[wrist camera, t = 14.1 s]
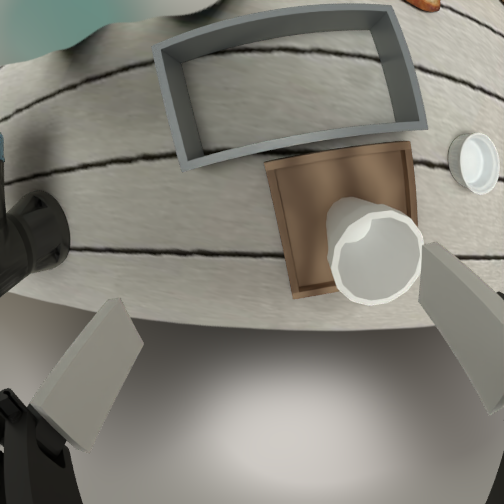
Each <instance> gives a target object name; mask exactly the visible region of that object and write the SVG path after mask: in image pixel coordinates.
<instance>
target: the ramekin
mask: <svg viewBox="0 0 504 504" xmlns="http://www.w3.org/2000/svg"><path fill="white" fill-rule="evenodd" d="M448 163H449V168H450V171H451V174H452V176H453V177H454V179H455V180H456V181H457V182H458V183H459V184H461V185H462V186H464V187H466V188H468V189H469V190H470V191H472V192H473V193H475V194H478V195H484V194H487V193H488V192H490V191H491V190H492V189H493V188H494V186H495V184H496V182H497V180H498V177H499V171H500V161H499V155H498V152H497V149H496V146H495V145H494V143H493V142H492V140H491V139H490V138H489V137H488V136H487V135H485V134H483V133H472V134H467V135H461V136H458V137H457V138H456V139H455V140H454V141H453V142H452V144H451V146H450V149H449V153H448Z"/></svg>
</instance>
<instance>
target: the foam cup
mask: <svg viewBox="0 0 504 504" xmlns="http://www.w3.org/2000/svg"><path fill="white" fill-rule="evenodd" d="M326 229H327V239H328V255H327V259H328V262H329V265H330V268H331V271H332V275H333V278H334V280H335V283H336V286H337V289H339V290H340V291H341V292H342V293H343V294H344V295H345V296H346V297H347V298H348V299H349V300H350V301H352V302H356V303H360V304H364V305H368V306H372V305H378V304H383V303H389V302H391V301H392V300H394V299H396V298H397V297H399V296H400V295H402V294H404V293H405V292H407V291H408V289H409V288H410V287H411V285H412V284H413V283H414V281H415V280H416V279H417V278H418V276H419V275H420V272H421V260H422V245H424V241H423V235H422V233H421V232H420V230H419V229H418V228H417V226H416V225H415V223H414V222H413V221H412V219H411V218H409V217H408V216H407V215H405V214H404V213H402V212H401V211H399V210H396V209H394V208H391V207H389V206H387V205H384V204H375V203H372V202H368V201H365V200H362V199H359V198H355V197H346V198H341V199H340V200H338V201H336V202H335V203H333V205H332V206H331V208H330V209H329V211H328V212H327V220H326Z"/></svg>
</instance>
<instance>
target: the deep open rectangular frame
mask: <svg viewBox="0 0 504 504" xmlns="http://www.w3.org/2000/svg"><path fill="white" fill-rule="evenodd" d="M341 30H370V31H371V34H372V37H373V39H374V42H375V45H376V48H377V51H378V54H379V58H380V61H381V64H382V67H383V71H384V74H385V78H386V82H387V86H388V89H389V94H390V98H391V102H392V106H393V111H394V116H395V121H396V123H384V124H373V125H363V126H354V127H346V128H338V129H331V130H324V131H318V132H312V133H306V134H300V135H294V136H289V137H284V138H279V139H274V140H269V141H264V142H260V143H255V144H251V145H247V146H242V147H238V148H234V149H230V150H226V151H222V152H219V153H215V154H211V155H208V156H204V153H203V149H202V145H201V141H200V138H199V134H198V130H197V126H196V122H195V118H194V114H193V110H192V106H191V102H190V98H189V94H188V90H187V86H186V82H185V78H184V73H183V69H182V65H181V63H183V62H186V61H188V60H191V59H194V58H197V57H200V56H203V55H207V54H210V53H213V52H217V51H220V50H224V49H227V48H231V47H235V46H239V45H243V44H247V43H252V42H256V41H261V40H266V39H272V38H277V37H283V36H290V35H297V34H305V33H314V32H325V31H341ZM151 47H152V52H153V57H154V61H155V66H156V71H157V75H158V80H159V84H160V88H161V93H162V97H163V101H164V106H165V110H166V114H167V118H168V122H169V126H170V130H171V134H172V138H173V142H174V145H175V149H176V153H177V157H178V160H179V164H180V168H181V171H182V172H185V171H188V170H192V169H195V168H199V167H202V166H206V165H210V164H213V163H217V162H221V161H225V160H229V159H233V158H237V157H241V156H246V155H250V154H254V153H259V152H263V151H268V150H273V149H278V148H283V147H288V146H293V145H299V144H304V143H310V142H316V141H322V140H329V139H335V138H343V137H350V136H358V135H367V134H376V133H386V132H398V131H412V130H428V125H427V120H426V114H425V109H424V105H423V100H422V96H421V91H420V87H419V83H418V79H417V76H416V72H415V69H414V65H413V62H412V59H411V55H410V52H409V49H408V46H407V43H406V41H405V38H404V35H403V32H402V30H401V27H400V25H399V22H398V20H397V17H396V15H395V12H394V10H393V8H392V6H391V5H380V4H320V5H307V6H298V7H289V8H282V9H275V10H269V11H264V12H259V13H254V14H249V15H244V16H240V17H236V18H232V19H228V20H224V21H220V22H217V23H213V24H210V25H207V26H204V27H200V28H197V29H194V30H191V31H189V32H186V33H183V34H180V35H177V36H175V37H172V38H170V39H167V40H165V41H162V42H160V43H158V44H155V45H153V46H151Z"/></svg>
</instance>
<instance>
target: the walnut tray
mask: <svg viewBox="0 0 504 504" xmlns="http://www.w3.org/2000/svg"><path fill="white" fill-rule="evenodd" d="M264 165H265V170H266V174H267V178H268V182H269V187H270V191H271V196H272V200H273V205H274V209H275V214H276V218H277V223H278V227H279V232H280V237H281V242H282V246H283V251H284V256H285V261H286V266H287V271H288V276H289V281H290V286H291V291H292V296H293V299H299V298H305V297H310V296H316V295H322V294H327V293H332V292H338V291H340V290H339V289H337V286H336V283H335V280H334V278H333V275H332V271H331V268H330V265H329V262H328V259H327V255H328V239H327V229H326V220H327V212H328V211H329V209H330V208H331V206H332V205H333V203H335V202H336V201H338V200H340V199H341V198H346V197H355V198H359V199H362V200H365V201H368V202H372V203H375V204H384V205H387V206H389V207H391V208H394V209H396V210H399V211H401V212H402V213H404V214H405V215H407V216H408V217H409V218H411V219H412V221H413V222H414V223H415V225H416V226H417V228H418V218H417V199H416V185H415V175H414V166H413V158H412V150H411V144H410V141H394V142H384V143H375V144H367V145H359V146H351V147H344V148H337V149H330V150H324V151H318V152H312V153H306V154H301V155H295V156H290V157H285V158H280V159H275V160H270V161H265V162H264Z"/></svg>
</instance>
